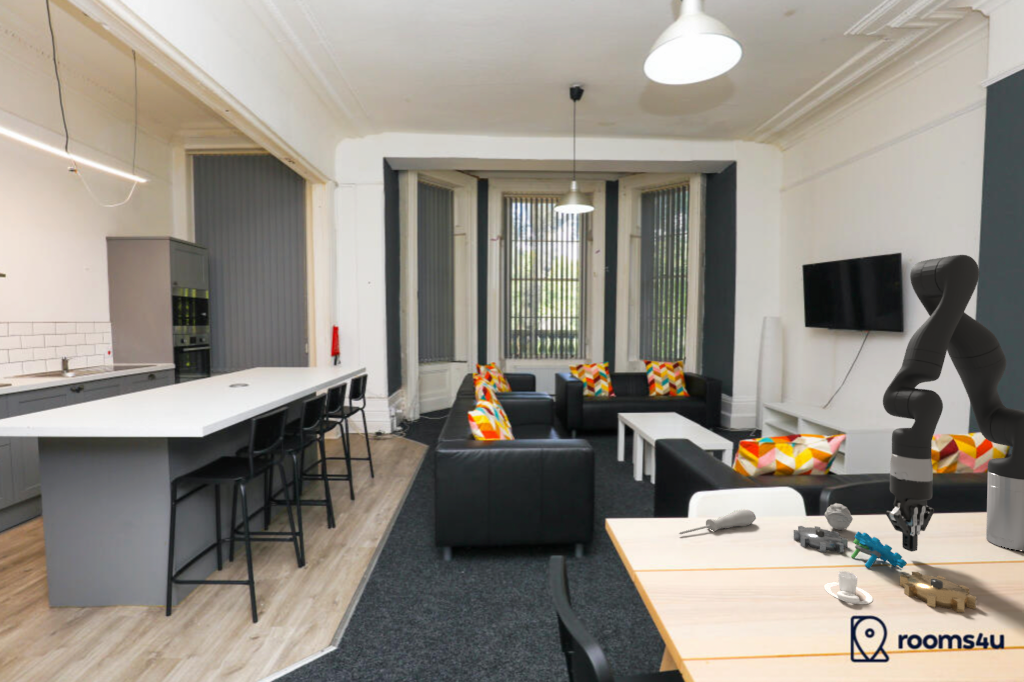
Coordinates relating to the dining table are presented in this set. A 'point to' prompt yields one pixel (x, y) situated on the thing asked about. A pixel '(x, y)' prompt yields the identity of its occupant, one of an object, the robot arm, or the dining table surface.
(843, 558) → the dining table surface
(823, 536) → the gear
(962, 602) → the gear
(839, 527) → the grey rounded lump
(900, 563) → the gear
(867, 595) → the teacup and saucer
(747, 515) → the screwdriver
